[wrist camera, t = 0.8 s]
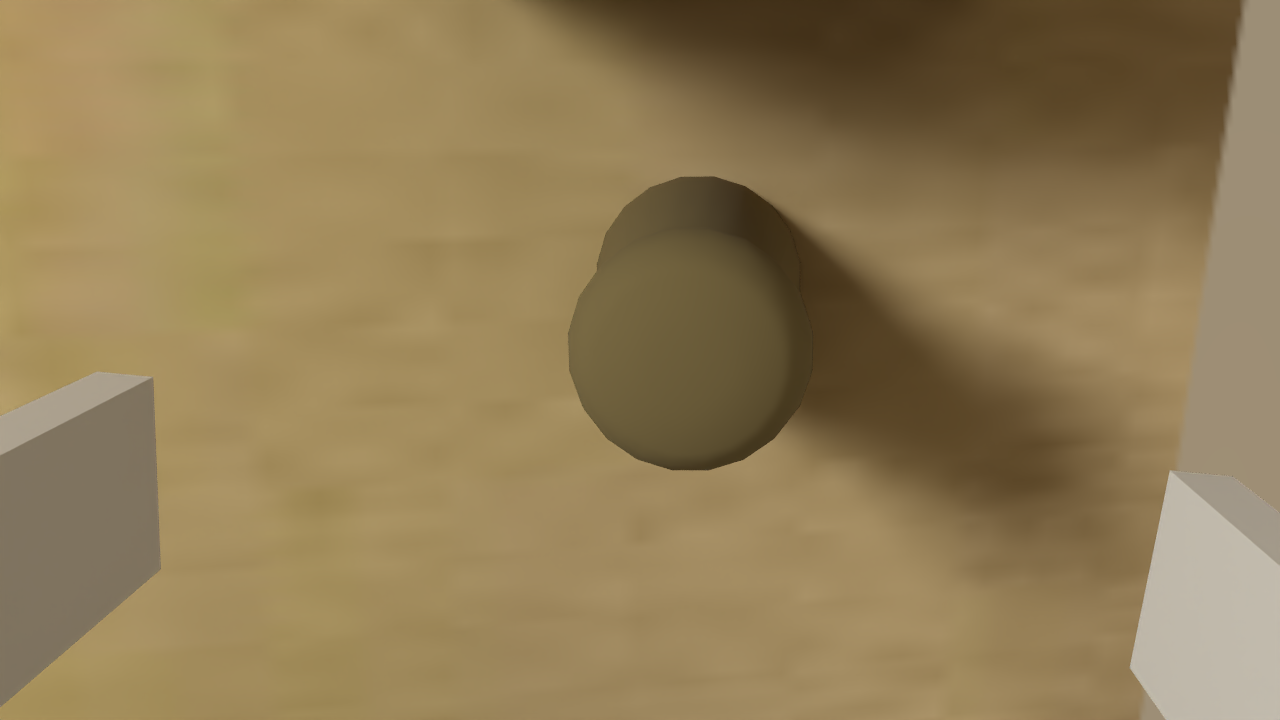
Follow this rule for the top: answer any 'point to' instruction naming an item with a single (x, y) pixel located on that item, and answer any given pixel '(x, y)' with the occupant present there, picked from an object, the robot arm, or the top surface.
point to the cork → (693, 327)
